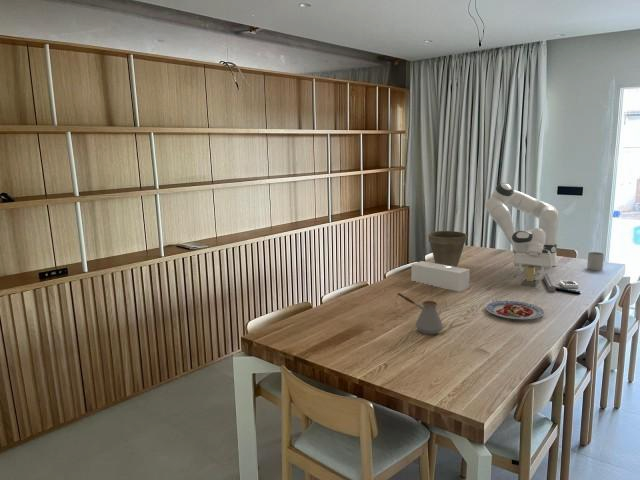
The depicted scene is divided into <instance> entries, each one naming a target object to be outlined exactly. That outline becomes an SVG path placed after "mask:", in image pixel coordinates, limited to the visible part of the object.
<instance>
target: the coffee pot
mask: <svg viewBox="0 0 640 480" xmlns="http://www.w3.org/2000/svg"><path fill="white" fill-rule="evenodd" d="M398 297H401V298H403V299H404V300H405V301H407V302H409V303H410V304H412V305H414V306H415V307H418V308H419V309H420V310H421V313H420V314H419V316H418V319H417V320H416V323H415V327H416V328H417V330H418V331H419V332H420V333H422V334H423V335H431V336H432V335H436V334H438V333H439V332H441V331H442V330H443V328H444V324H443V322H442V320H441V317H440V314H439V312H438V310H437V305H438V302H436V301H434V300H423V301H422V302H421V305H422V306H421V305H419V304H418V303H416V302H414V301H413V300H412V299H410V298H409V297H407V296H405V295H404V294H401V292H397V294H396V298H398Z"/></svg>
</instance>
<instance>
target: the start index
mask: <svg viewBox="0 0 640 480" xmlns="http://www.w3.org/2000/svg"><path fill="white" fill-rule="evenodd" d="M559 285H560V286H561V287H562V288H563V287H564V288H563V289H579V284H578V283H577V282H576V281H575V280H559Z"/></svg>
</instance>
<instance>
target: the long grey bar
mask: <svg viewBox="0 0 640 480" xmlns="http://www.w3.org/2000/svg"><path fill="white" fill-rule="evenodd" d="M542 277H543V281H544V283H545V286H546V287H547V290H548V292H549V293H550V292H553V293H555V292H556V285H555V283H554V281H553V279H552V276H551V275H550V274H549V273H543V276H542Z"/></svg>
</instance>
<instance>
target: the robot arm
mask: <svg viewBox="0 0 640 480" xmlns="http://www.w3.org/2000/svg"><path fill="white" fill-rule="evenodd" d="M507 205H508V206H510V207H512V208H514V209H516V210H518V211H521V212H522V213H525V214H527V215H529V216H532V217H534V218H538V227H533V228H532V229H530V230H518V231H516V230H515V227H514V223H513V217H512V213H511V211H510V209H509V208H508V207H507ZM485 207H486V208H485V209H486V210H487V212H488V214H489V216H490V217H491V218H492V220H493V221H494V222H495V223H496V225H498V228H500V229H501V231H502V232H503V233H504V236H506V238H507V240H508V241H509V243H510V244H511V245H512V252H513V254H514V258H513V261H512V263H513V265H514V266H516V267H519V269H520V270H519V272H520V273H523V274H524V271H525V270H524V268H523V267H525V268H526V267H527V266H534V267H535V269H540V270H537V275H542V273H543V272H544V271H545V270H551V269H552V268H553V267H557V266H558V261H557V259H558V257H557V249H558V248H557V247H558V244H557V236H558V229H559V228H558V226H559V217H560V215H559V212H558V209H557V208H556V207H555V206H554V205H551V204H550V203H546V202H545V201H543V200H539V199H537V198H535V197H532V196H530V195H528V194H526V193H525V192H521V191H518V190H515V189H513V187H512V186H511V185H510V184H508V183H506V182H502V183H499V184H498V185H497V186H496V187H495V189H494V191H493V192H492V193H491V196H490V198H489V199H487V200H486V202H485Z"/></svg>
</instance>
